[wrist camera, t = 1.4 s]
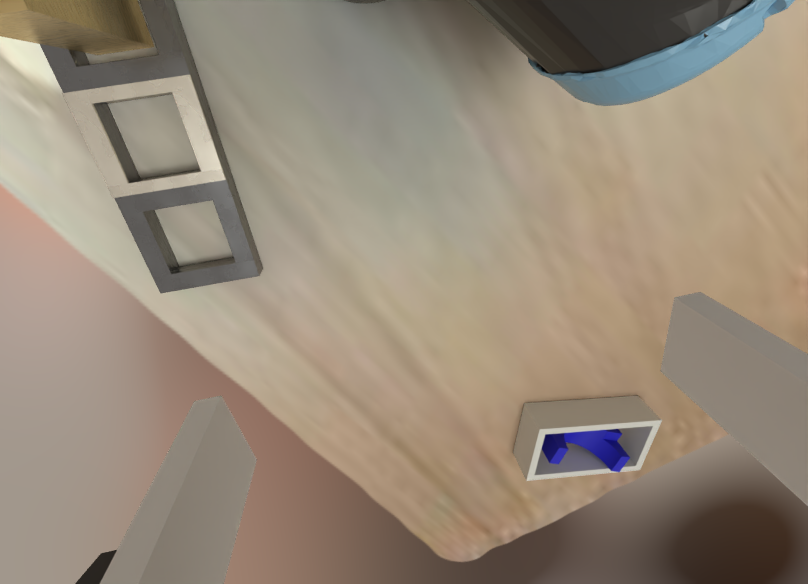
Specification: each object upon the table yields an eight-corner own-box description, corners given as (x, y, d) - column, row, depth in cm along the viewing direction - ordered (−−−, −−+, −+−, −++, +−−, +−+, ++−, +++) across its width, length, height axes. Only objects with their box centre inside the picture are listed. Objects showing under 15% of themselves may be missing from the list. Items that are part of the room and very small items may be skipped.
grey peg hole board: (9, -57, 28) (-17, -69, 26) (148, -74, 28) (134, -87, 26) (168, 285, 40) (159, 294, 39) (263, 268, 41) (258, 276, 39)
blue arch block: (610, 418, 59) (635, 450, 54) (595, 439, 61) (619, 472, 56) (544, 407, 56) (564, 439, 51) (531, 430, 58) (549, 463, 53)
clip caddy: (524, 403, 55) (539, 429, 50) (637, 395, 57) (662, 420, 53) (513, 452, 59) (526, 480, 55) (618, 443, 62) (639, 470, 57)
